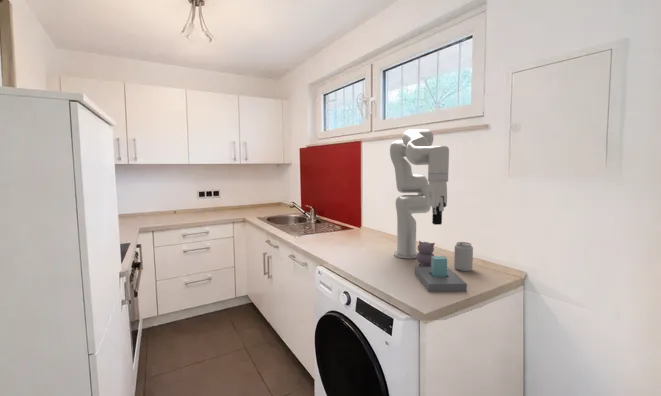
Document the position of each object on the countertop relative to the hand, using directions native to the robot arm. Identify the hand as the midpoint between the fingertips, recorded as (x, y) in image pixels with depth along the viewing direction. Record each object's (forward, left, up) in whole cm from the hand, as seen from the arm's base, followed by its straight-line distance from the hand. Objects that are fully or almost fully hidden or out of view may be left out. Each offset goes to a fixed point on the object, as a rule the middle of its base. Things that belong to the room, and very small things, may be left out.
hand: (436, 224), depth 125 cm
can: (-14, +17, -24) cm, 32 cm away
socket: (+1, +1, -23) cm, 23 cm away
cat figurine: (-17, +1, -24) cm, 29 cm away
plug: (+1, +1, -23) cm, 23 cm away
